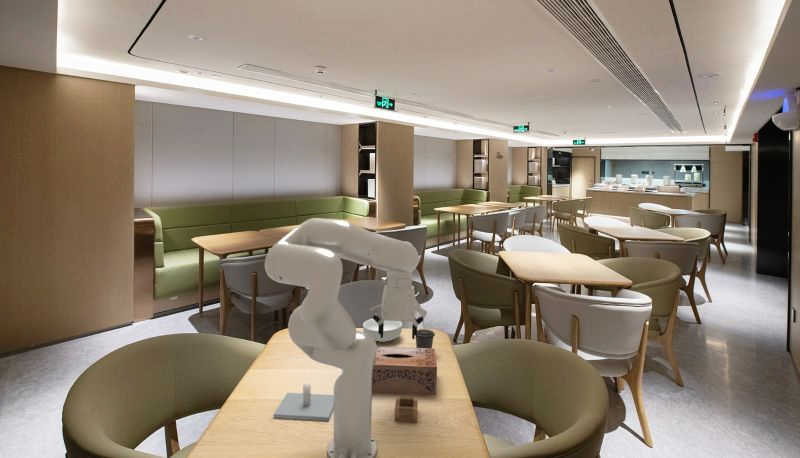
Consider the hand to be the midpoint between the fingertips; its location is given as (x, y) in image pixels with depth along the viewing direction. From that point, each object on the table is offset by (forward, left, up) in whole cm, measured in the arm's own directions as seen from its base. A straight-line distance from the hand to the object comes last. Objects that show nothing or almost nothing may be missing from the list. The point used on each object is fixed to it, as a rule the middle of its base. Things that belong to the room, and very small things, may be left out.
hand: (397, 337), depth 127 cm
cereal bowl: (+50, +9, -21) cm, 55 cm away
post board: (-6, +26, -21) cm, 34 cm away
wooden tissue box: (-7, -4, -21) cm, 23 cm away
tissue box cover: (+12, 0, -22) cm, 25 cm away
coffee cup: (+35, -9, -21) cm, 42 cm away
